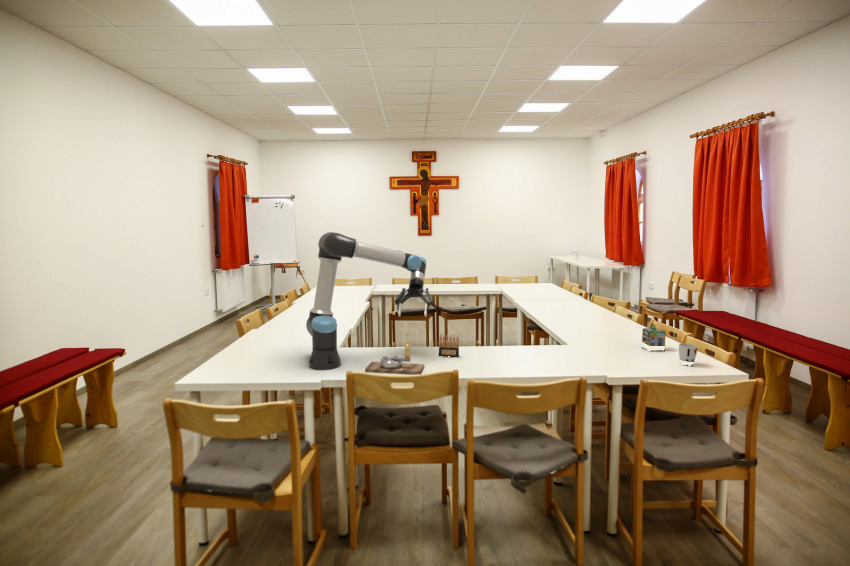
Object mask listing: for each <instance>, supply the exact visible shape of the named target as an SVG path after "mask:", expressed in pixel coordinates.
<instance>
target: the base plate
mask: <svg viewBox="0 0 850 566" xmlns="http://www.w3.org/2000/svg"><path fill="white" fill-rule="evenodd" d="M424 369H425V364H424V363H408V362H404V363H403V362H402V366H401V367H400V368H397V369H384V368H382V367H381V366H380V361H371V362H370V363H369V364H368V365H367V366H366V367H365V369H364V372H365V373H375V374H377V373H378V374H380V373H381V374H397V375H412V374H421V375H422V372H423V370H424Z"/></svg>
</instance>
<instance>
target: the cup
mask: <svg viewBox="0 0 850 566" xmlns="http://www.w3.org/2000/svg"><path fill="white" fill-rule="evenodd" d="M697 353H698V345H695V344H694V343H693V344H691V343H685V342H684V343H683V342H681V343H679V344H678V358H679V361H680V360H682V361H687V362H694V363H695V360H696V357H697Z"/></svg>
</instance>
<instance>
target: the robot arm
mask: <svg viewBox="0 0 850 566" xmlns="http://www.w3.org/2000/svg"><path fill="white" fill-rule="evenodd" d="M317 244H318V253H317V254H318V256H317V258H318V259H319V260H320V263H319V269H318V275H317V282H316V290H315V296H314V302H313V307H312V308H311V309H310V310H309V315H308V318H307V320H306V323H305V324H306V325H305V327H306V330H307V332H308V333H309V335H310V336H311V337H312V339H311V341H312V343H311V344H312V345H311V346H312V351H311V355H310V356H309V361H308V367H309V368H310V369H314V370H322V371H323V370H331V369H332V370H333V369H337V368H339V367H340V366H341V365H342V360H341V357H340V355H339V350H338V335H337V334H338V333H337V332H338V331H337V330H338V324H337V319H336V318H335V317H333V316H334V312H333V311H332V310H331V309H332V302H333V295H334V290H335V285H336V284H335V283H336V276H337V271H338V264H339V263H340V262H342V258H347V259H353V258H357V259H358V258H359V259H363V260H367V261H373V262H377V263H381V264H386V265H390V266H396V267H400V268H402V269H404V270H407V271H408V272H410V278H409V283H408V284H409V285H408V288H405V287H403V288H402V289H401V292H400V293H399V294H398V295H397V297H395V299H394V302H393V303H394V304H395V305H396V311H397V316H398V317H401V314H402V310H403V309H402V307H403V306H402V305H403V304H404V303H405V302H406V301H407V300H409V299H411V298H420V299H421V300H422V301H423V302H424V304H425V305H424V311H423V312H424V317H425V318H427V315H428V311H430V307H431V306H434V301H433V298H432V297H431V294H430V291H429V288H428V287H426V288H425V289H424V285H425V277H426V269H427V260H426V258H425V257H423V256H419V255H417V254H412V253H407V252H403V251H402V250H399V249H397V250H395V249H390V248H386V247H382V246H378V245H373V244H369V243H365V242H360V241H358V240H357V239H356V238H352V237H350V236H348V235H344V234H342V233H340V232H332V231H331V232H329V231H328V232H326V233H324V234H323V235H321V236H320V238H319V240H318V243H317ZM424 293H425V294H426V296H427V297H426V296H424Z"/></svg>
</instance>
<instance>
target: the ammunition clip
mask: <svg viewBox="0 0 850 566" xmlns="http://www.w3.org/2000/svg"><path fill="white" fill-rule="evenodd" d="M459 340H460V339H459V335H458V334H456V336H455V334H453V336H452V334H450V335H448V333H447V334H446V335H445V334H443V335H442V333H441V334H439V341H438V356H447V357H446V358H454V357H459V358H460V342H459ZM438 356H437V357H438ZM448 356H450V357H448Z"/></svg>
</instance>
